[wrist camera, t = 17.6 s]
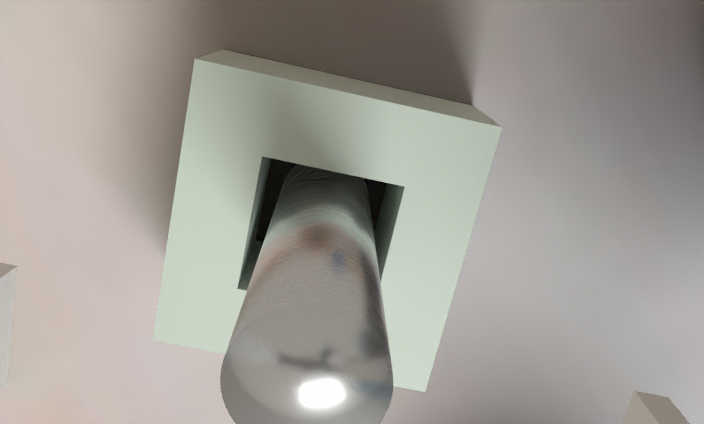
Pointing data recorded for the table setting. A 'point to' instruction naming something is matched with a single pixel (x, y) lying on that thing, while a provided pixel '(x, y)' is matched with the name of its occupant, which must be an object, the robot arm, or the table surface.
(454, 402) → the table surface
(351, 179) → the grey tall cylinder
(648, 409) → the robot arm
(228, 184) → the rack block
